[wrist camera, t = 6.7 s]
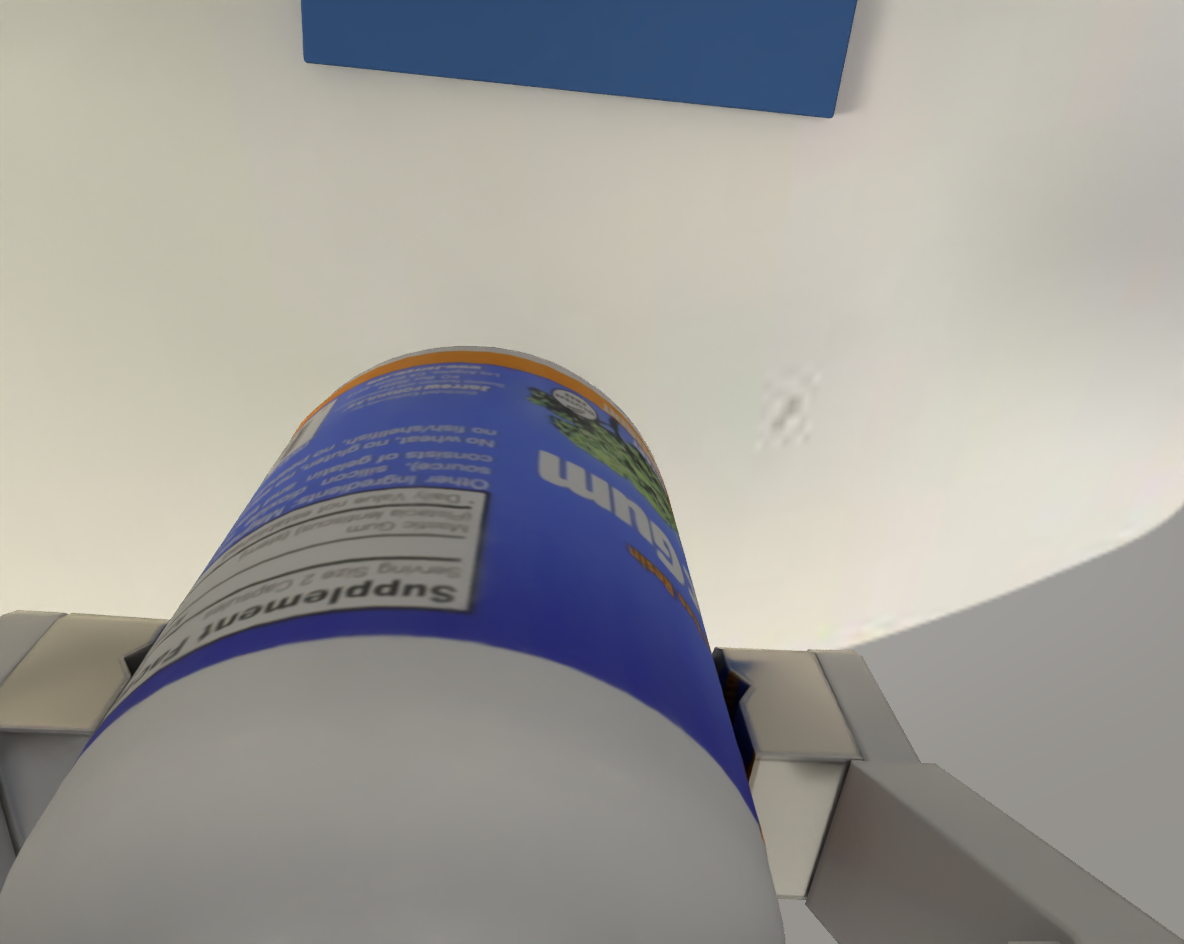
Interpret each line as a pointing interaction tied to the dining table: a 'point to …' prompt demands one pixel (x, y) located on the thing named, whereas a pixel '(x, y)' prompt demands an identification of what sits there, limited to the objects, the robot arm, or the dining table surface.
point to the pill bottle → (421, 700)
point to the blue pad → (602, 46)
